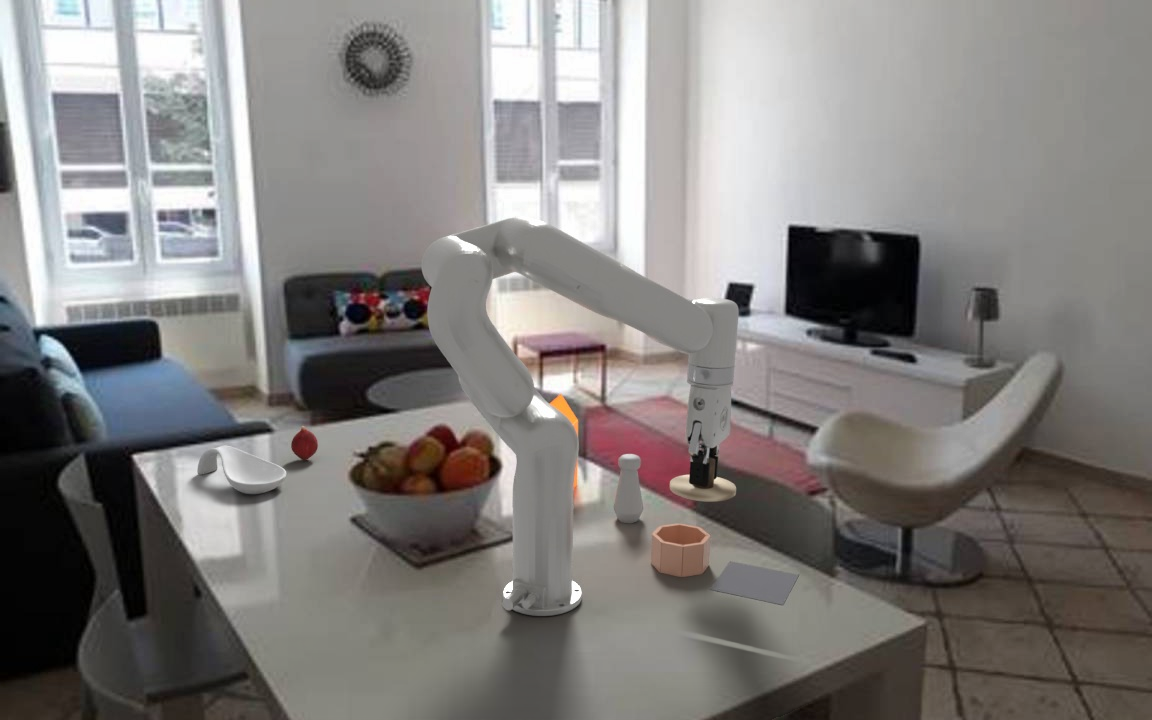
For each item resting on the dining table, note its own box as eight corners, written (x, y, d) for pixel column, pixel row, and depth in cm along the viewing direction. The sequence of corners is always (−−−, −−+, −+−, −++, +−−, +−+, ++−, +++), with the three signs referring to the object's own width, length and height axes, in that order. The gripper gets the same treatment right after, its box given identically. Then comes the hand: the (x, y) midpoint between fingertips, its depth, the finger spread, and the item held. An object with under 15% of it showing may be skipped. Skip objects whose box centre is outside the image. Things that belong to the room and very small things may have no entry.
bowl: (697, 583, 157) (698, 549, 156) (645, 572, 161) (646, 539, 159) (713, 561, 165) (715, 529, 164) (663, 551, 169) (664, 520, 168)
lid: (723, 506, 150) (726, 474, 149) (659, 493, 155) (661, 462, 154) (744, 486, 160) (746, 456, 159) (683, 474, 165) (685, 445, 164)
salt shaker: (643, 514, 186) (645, 451, 183) (642, 525, 181) (644, 461, 178) (614, 512, 187) (615, 450, 184) (612, 524, 181) (613, 459, 178)
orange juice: (577, 484, 202) (579, 394, 198) (566, 499, 194) (567, 405, 189) (543, 480, 204) (543, 391, 200) (530, 494, 196) (530, 402, 191)
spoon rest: (298, 488, 198) (297, 455, 197) (252, 504, 189) (249, 470, 187) (228, 466, 211) (226, 435, 210) (181, 480, 202) (178, 448, 200)
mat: (782, 608, 149) (782, 604, 149) (709, 592, 154) (709, 589, 154) (798, 578, 159) (799, 574, 159) (729, 564, 164) (730, 561, 164)
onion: (324, 459, 216) (322, 425, 214) (304, 466, 211) (302, 431, 209) (306, 454, 219) (304, 421, 217) (286, 461, 214) (284, 427, 212)
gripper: (716, 387, 144) (708, 500, 148) (747, 368, 159) (739, 471, 163) (670, 381, 148) (663, 491, 152) (705, 362, 162) (698, 464, 166)
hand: (702, 480), depth 157 cm, fingers closed on lid, 3 cm apart
